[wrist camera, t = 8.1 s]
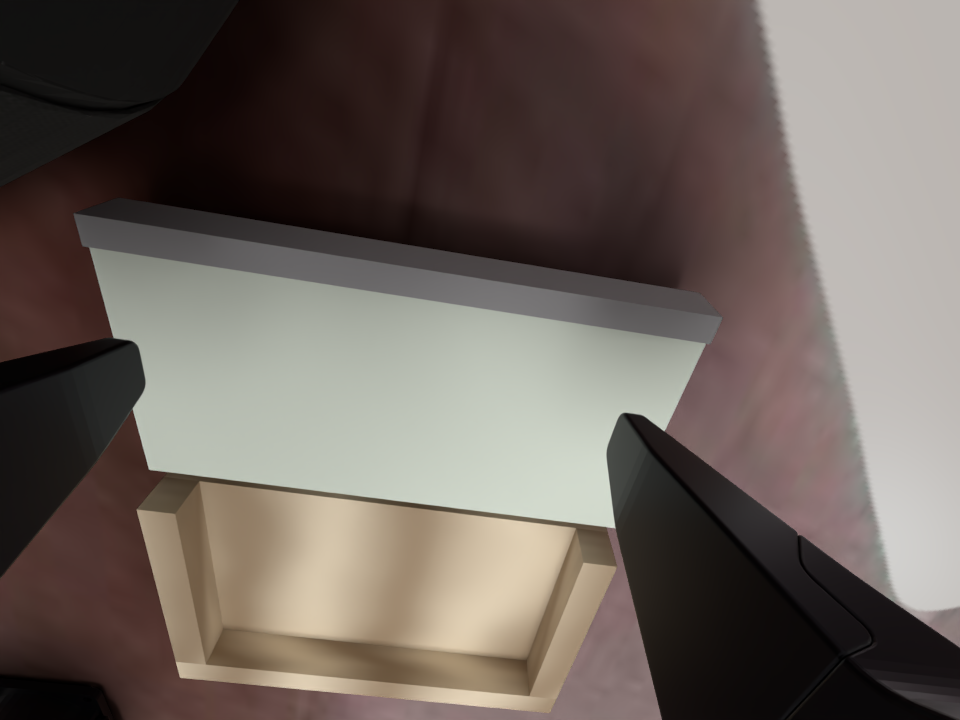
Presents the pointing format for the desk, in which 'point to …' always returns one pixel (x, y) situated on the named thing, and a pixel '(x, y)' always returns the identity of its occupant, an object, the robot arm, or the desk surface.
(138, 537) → the desk surface
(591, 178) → the desk surface
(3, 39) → the portable speaker
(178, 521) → the tray
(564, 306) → the panel
